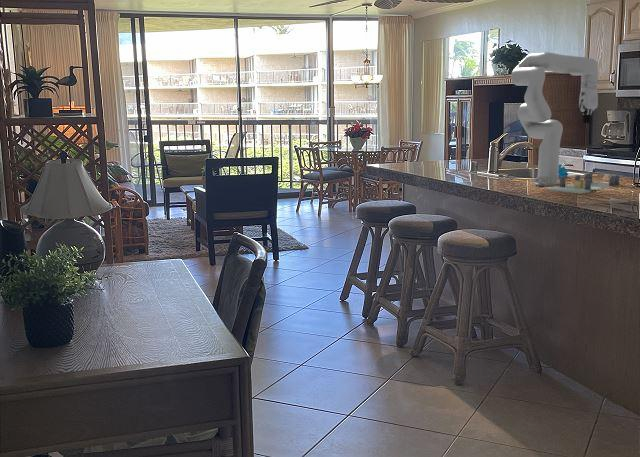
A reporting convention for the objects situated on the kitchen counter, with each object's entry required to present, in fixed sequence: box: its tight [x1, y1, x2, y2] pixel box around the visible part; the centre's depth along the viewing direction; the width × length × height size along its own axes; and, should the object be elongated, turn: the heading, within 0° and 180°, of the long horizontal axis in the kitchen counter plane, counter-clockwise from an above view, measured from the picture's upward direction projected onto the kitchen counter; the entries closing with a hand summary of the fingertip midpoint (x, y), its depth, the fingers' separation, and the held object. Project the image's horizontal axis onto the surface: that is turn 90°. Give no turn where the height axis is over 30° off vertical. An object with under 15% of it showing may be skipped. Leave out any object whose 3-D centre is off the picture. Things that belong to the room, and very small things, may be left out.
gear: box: [558, 163, 569, 179], centre depth 363 cm, size 11×6×10 cm
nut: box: [573, 179, 585, 188], centre depth 315 cm, size 6×7×3 cm
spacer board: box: [545, 172, 621, 194], centre depth 319 cm, size 34×18×6 cm, turn 127°
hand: (586, 122), depth 344 cm, fingers closed
